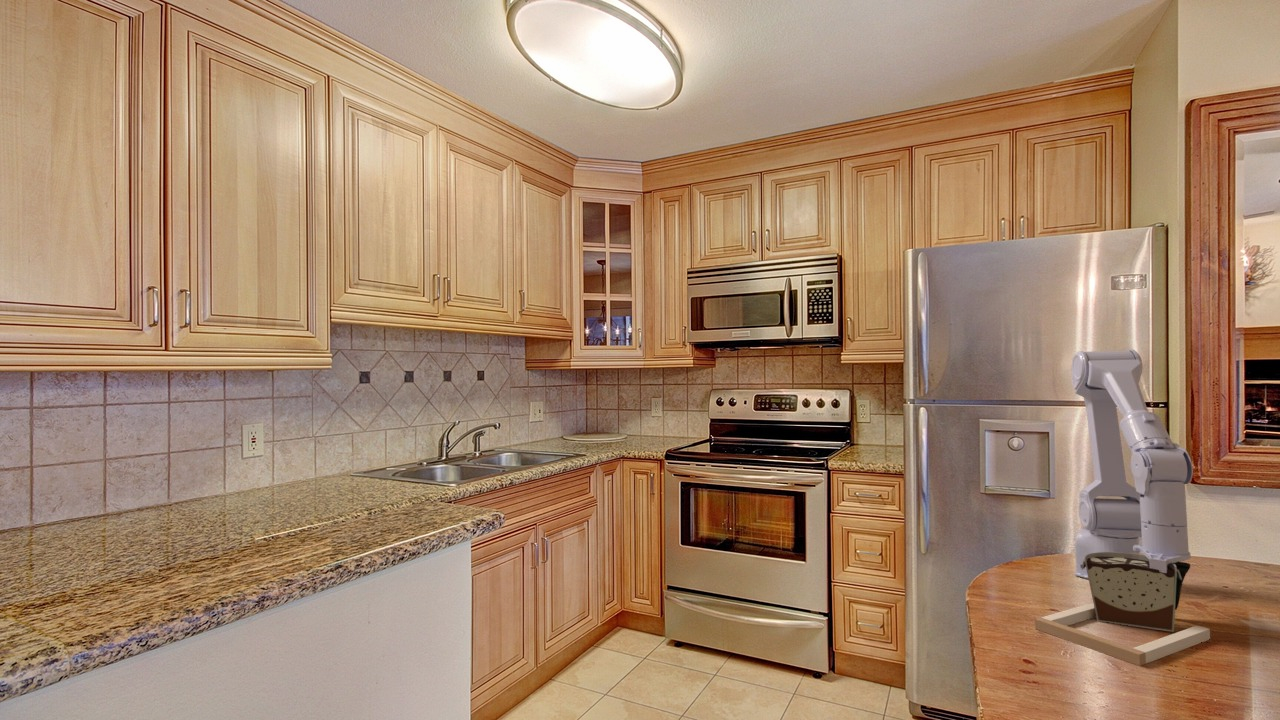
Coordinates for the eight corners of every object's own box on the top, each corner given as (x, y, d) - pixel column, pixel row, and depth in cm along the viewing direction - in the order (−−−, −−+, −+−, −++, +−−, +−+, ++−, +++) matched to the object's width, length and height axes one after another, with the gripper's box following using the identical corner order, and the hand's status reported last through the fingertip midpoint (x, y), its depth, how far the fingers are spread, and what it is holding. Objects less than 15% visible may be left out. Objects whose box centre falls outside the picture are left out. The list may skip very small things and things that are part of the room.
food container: (1180, 620, 96) (1174, 556, 97) (1187, 633, 91) (1181, 566, 92) (1084, 607, 103) (1079, 548, 104) (1085, 619, 98) (1080, 556, 99)
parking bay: (1035, 628, 95) (1034, 619, 95) (1105, 608, 102) (1104, 599, 103) (1139, 665, 82) (1139, 654, 82) (1210, 639, 90) (1209, 628, 90)
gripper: (1140, 512, 106) (1144, 590, 106) (1123, 526, 96) (1127, 613, 96) (1194, 518, 101) (1199, 600, 100) (1182, 533, 91) (1187, 625, 91)
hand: (1168, 607), depth 98 cm, fingers closed
